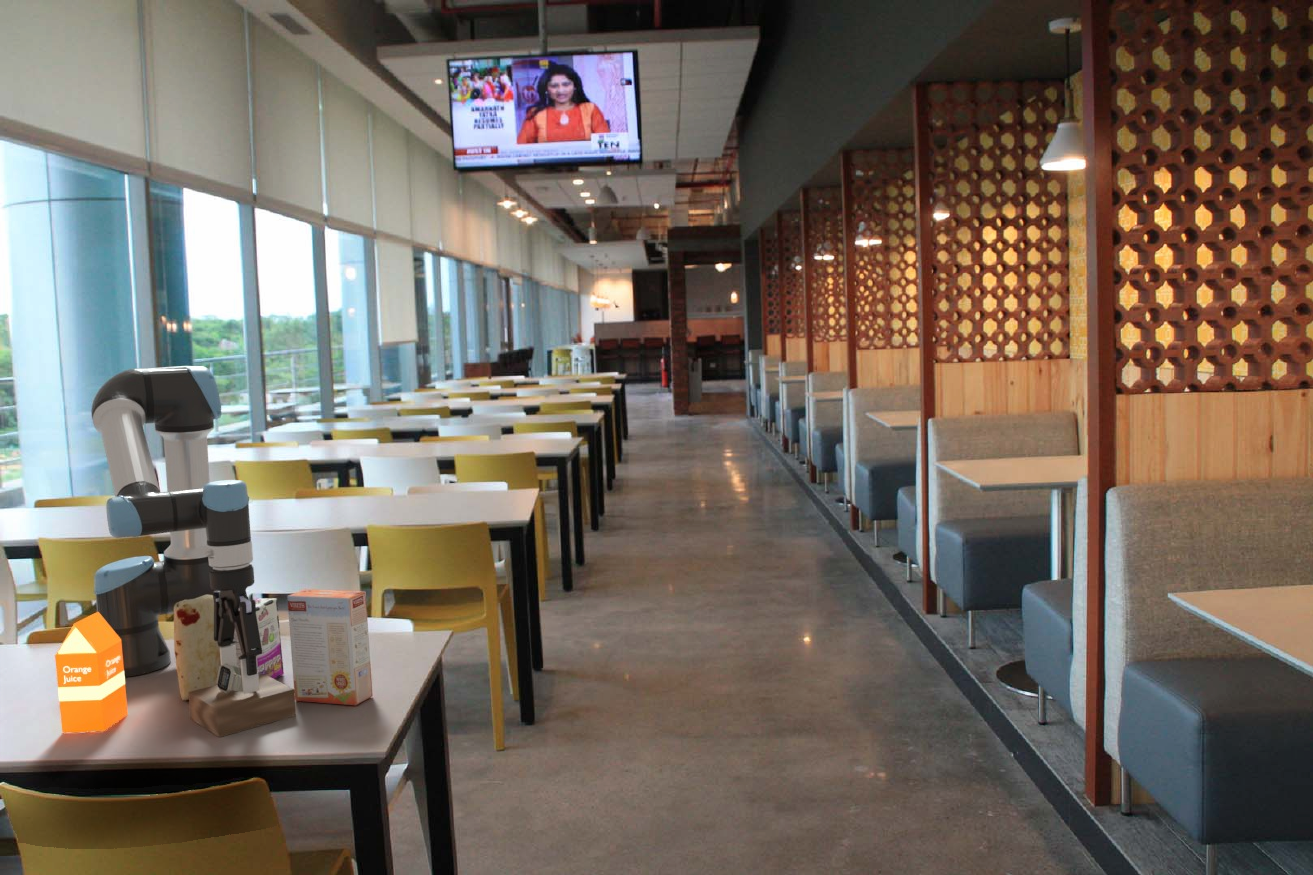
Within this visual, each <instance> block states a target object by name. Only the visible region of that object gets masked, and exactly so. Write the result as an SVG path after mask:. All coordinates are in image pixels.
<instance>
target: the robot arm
mask: <svg viewBox="0 0 1313 875" xmlns="http://www.w3.org/2000/svg"><path fill="white" fill-rule="evenodd" d="M221 416H222V403H221V398H220V393H219V389H218V385H217V382H216V380H215V377H214V374H213V372H212V371H211V370H210V369H209V368H207V367H206V366H203V365H202V366H201V365H200V366H198V365H197V366H196V365H181V366H179V365H177V366H165V367H164V366H163V367H148V368H147V367H146V368H140V367H137V368H129V369H126V370H124V371H121V372H119V373H116V374H115V375H113V376H112V377H111V378H109V379H108V380H107V381H105V383H104V384H103V385H102V386H101V387H100V388H99V390H98V391H97V393H96V394H95V397H94V399H93V401H92V405H91V419H92V425H93V426H94V428H95V430H96V431H97V432H98V433H100V435H101V439H102V443H103V447H104V452H105V455H106V460H107V466H108V469H109V475H110V479H111V483H112V489H113V493H114V497H110V498H108V499H107V501H106V505H105V506H106V507H105V508H106V519H107V526H108V531H109V534H110V535H111V537H114V538H116V539H117V538H118V539H119V538H138V537H145V536H153V535H158V534H160V535H161V534H165V533H169V537H170V545H169V546H167V548H166V549H165V550H163V560H161V561H155V559H154V558H153V557H152V556H150V555H141V556H133V557H128V558H122V559H120V560H116V561H113V562H111V563H108V564H106V565H103V566H102V567H100V568H99V569H97V570H96V571H95V574H94V576H93V580H94V590H93V594H94V595H95V603H96V612H99V613H100V614H101V616H102V617H103V618H104V619H105V620H106V622H107V623H108V624H109V625H110V627H111V628H112V629H113V630H114V631H115V633H116V634H117V635H118V636H119V637H120V639H121V644H122V655H123V666H124V674H125V678H128V677H134V676H140V675H145V674H148V673H152V672H155V671H158V670H161V669H163V668H165V667H167V666H168V665H169V664H170V663H171V662H172V661H171V660H172V659H171V651H170V648H169V646H168V644H167V641H166V640H165V638H164V636H163V633H162V632H161V630H160V624H159V616H162V615H163V616H164V615H169V614H174V606H175V604H176V603H177V602H179V601H183V600H190V599H195V598H198V597H201V596H203V595H213V600H214V641H218V646H219V647H220V646H221V647H220V660H221V665H224V664H226V663H227V664H228V665H230V666H237V656H236V645H231V644H233V643H237V641H236V639H235V638H234V632H235V629H236V633H237V637H238V640H239V644H240V648H241V652H242V655H241V656H240V657H238V658H239V660H240V661H241V674H242V686H243V693H244V694H247V693H251V692H254V691H258V690H259V678H258V665H257V656H258V655H260V654H262V647H261V641H260V635H259V629H258V623H257V617H256V602H255V599H249V596H248V595H247V591H246V590H247V589H248V588H249V587H252V586H253V585H254V584H255V572H254V570H255V569H254V565H253V564H251V563H253V561H254V555H253V554H254V553H253V552H254V550H253V541H252V537H251V522H250V521H251V520H250V508H249V502H250V497H249V495H248V487H247V484H246V482H245V481H244V480H240V479H238V480H237V479H226V480H224V479H223V480H216V481H214V480H213V481H211V480H210V466H209V450H208V448H209V446H208V435H209V434H210V433H211V432H212V431H213V430H214V428H215V423H214V420H218V419H220V418H221ZM145 424H154V431H155V432H156V433H157V434H159V435H160V436H161V437H162V439H163V446H164V447H163V448H164V460H165V462H164V463H165V476H166V488H167V489H166V491H161V490H160V486H159V482H158V478H157V475H156V472H155V468H154V464H153V461H152V456H151V452H150V448H149V445H148V441H147V437H146V433H145V430H144V425H145Z"/></svg>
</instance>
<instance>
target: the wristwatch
mask: <svg viewBox="0 0 1313 875" xmlns="http://www.w3.org/2000/svg"><path fill="white" fill-rule="evenodd" d="M258 678H259V675H258ZM216 683H217V685H218V688H219V690H220V691H223V692H224V693H228V692H229V691H231V690H234V691H241V692H243V686H242V674H241V667H237V666H230V665H228V664H227V663H226V664H224V665H221V666H219V671H218V676H217V681H216Z"/></svg>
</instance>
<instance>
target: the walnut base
mask: <svg viewBox="0 0 1313 875" xmlns="http://www.w3.org/2000/svg"><path fill="white" fill-rule="evenodd" d="M258 675H259V690H258V691H254V692H251V693H247V694H244V693H243V692H241V691H234V690H231V691H229V692H228V693H224V692H223V691H220V690H219V688H218V685H214V686H210V687H206V688H202V689H199V690H195V691H191V692H188V696H189V700H188V704H189V705H188V706H189V718H190V719H191V720H192V721H194V722H195V723H197V724H198V725H200V726H201V727H203V728H204V729H206V730H207V731H209V732H210V733H212V734H214V735H215V736H216V737H218V738H222V737H224V736H229V735H232V734H236V733H239V732H240V733H241V732H242V731H246V730H250V729H254V728H257V727H260V726H264V725H267V724H270V723H271V724H272V723H274V722H277V721H282V720H285V719H288V718H292V717H295V716H297V711H296V710H297V709H296V700H295V693H294V687H291V686H289V685H287V684H285V683H282V682H281V681H279V680H277V679H276V680H275V679H273V678H271V677H269V676H267V675H265V674H263V673H262V674H258Z"/></svg>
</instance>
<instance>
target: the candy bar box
mask: <svg viewBox="0 0 1313 875" xmlns="http://www.w3.org/2000/svg"><path fill="white" fill-rule="evenodd" d="M254 600H255V602H256V617H257V623H258V629H259V635H260V641H261V647H262V654H260V655H258V656H257V665H258V674H262V673H263V674H265V675H267V676H269V677H271V678H273V679H275V680H277V679H279V678H280V677H282V676H283V675H285V673H284V662H283V651H282V642H281V641H282V640H281V631H280V630H281V628H280V619H279V609H278V608H279V607H278V606H279V605H278V598H275V597H273V598H271V597H264V598H263V597H260V598H259V597H258V598H255V599H254ZM234 638H235V639H236V641H237V643H233V644H231V645H236V656H237V667H241V661H240V660H239V658H238V657H240V656H241V655H242V652H241V648H240V644H239V640H238V637H237V633H236V629H235V632H234Z"/></svg>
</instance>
